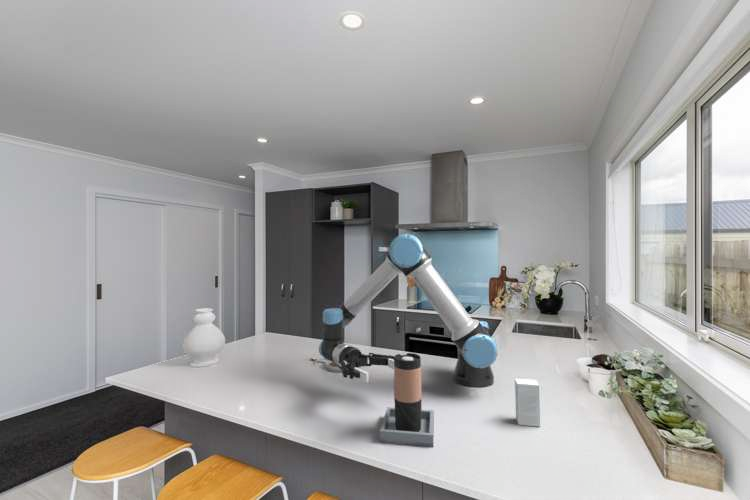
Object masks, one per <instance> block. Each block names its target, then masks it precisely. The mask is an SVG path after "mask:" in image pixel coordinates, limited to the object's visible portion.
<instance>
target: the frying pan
mask: <svg viewBox="0 0 750 500" xmlns="http://www.w3.org/2000/svg"><path fill="white" fill-rule="evenodd" d="M308 360H309V361H310V362H311V361H313V362H314V363H313V365H316V364H317V363H324V364H323V365H324V366H325V369H326V370H327V371H329V372H332V373H333V372H334V373H339V374H340V373H342V370H341V369H340V368H339V365H338V364H336V363H334V362H332V361H329V360H326V359H325V358H324V357H321V358H319V359H318V358H317V359H316V358H313V357H309V359H308ZM357 368H359V369H361V368H362V367H357ZM347 370H349V369H347Z"/></svg>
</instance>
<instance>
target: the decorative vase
mask: <svg viewBox="0 0 750 500" xmlns="http://www.w3.org/2000/svg"><path fill="white" fill-rule="evenodd" d="M194 310H195V311H194V312H195V313H196V314H195V315H194V316H193V317H192V321H193V322H194V323H195V324H196V325H194V327H193V328H192V329H191V330H190V331H189V332H188V333H187V334H186V336H185V337H184V339H183V342H182V350H183V351H184V353H185V355H187V357H188V358H189V359H191V361H190V362H189V367H192V368H205V367H210V366H213V365H216V364H218V363H219V362H220V358H219V357H218V356H219V354H220V353H221V352H222V350H223V349H224V347H225V346H226V336H225V335H224V333H223V332H222V330H220V328H218V326H216V325H215V324H213V322H215V320H216V314H214V313H213V311H214V308H213V307H208V308H207V307H202V308H196V309H194Z"/></svg>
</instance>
